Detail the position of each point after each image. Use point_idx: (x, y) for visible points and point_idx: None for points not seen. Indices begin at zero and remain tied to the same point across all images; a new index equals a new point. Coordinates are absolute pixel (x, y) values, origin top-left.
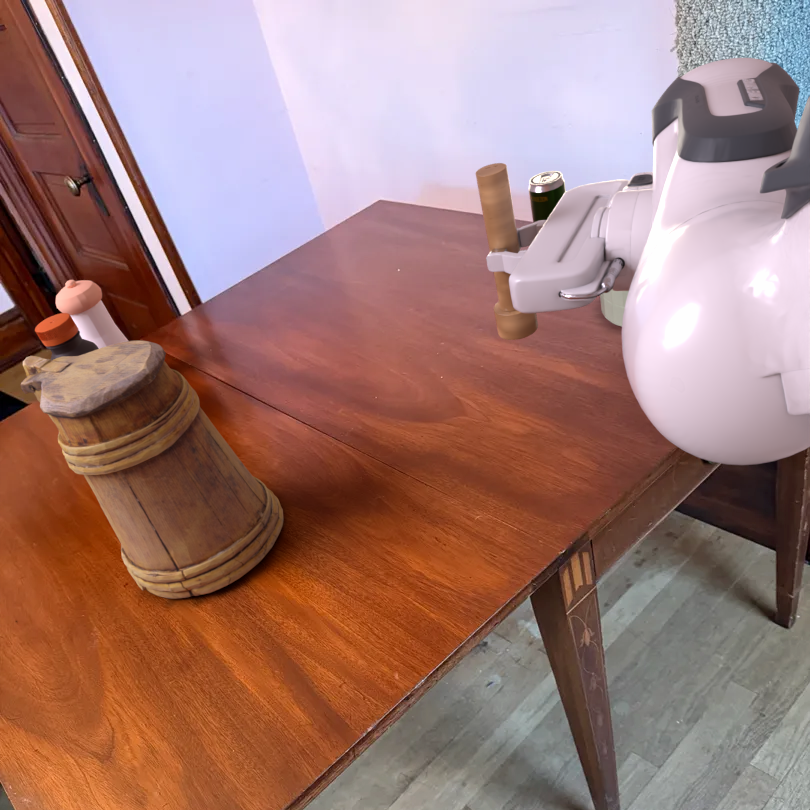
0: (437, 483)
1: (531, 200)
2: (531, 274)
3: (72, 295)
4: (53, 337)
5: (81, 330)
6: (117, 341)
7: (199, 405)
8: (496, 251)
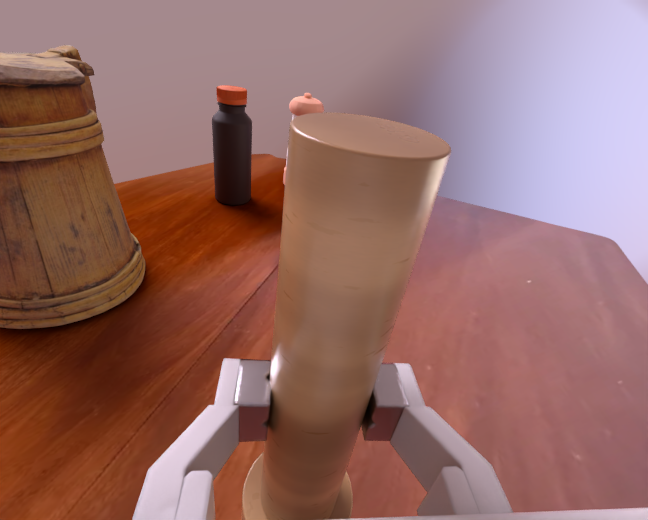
0: (105, 483)
1: None
2: None
3: (297, 100)
4: (218, 95)
5: None
6: None
7: (23, 159)
8: (244, 377)
